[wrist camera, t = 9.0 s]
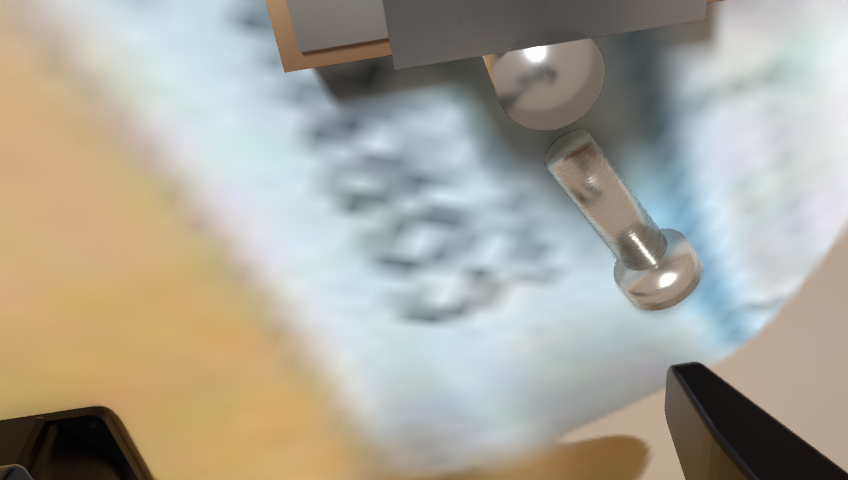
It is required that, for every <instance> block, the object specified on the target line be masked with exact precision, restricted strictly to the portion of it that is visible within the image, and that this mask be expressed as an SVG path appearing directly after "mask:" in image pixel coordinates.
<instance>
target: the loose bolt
mask: <svg viewBox="0 0 848 480" xmlns="http://www.w3.org/2000/svg"><path fill="white" fill-rule="evenodd" d="M544 165H545V166H546V168H547V169H548V170H549V171H550V173H551V174H552V175H553V176H554V178H555V179H556V180H557V181H558V183H559V184H560V185H561V186H562V188H563V189H564V190H565V191H566V193H567V194H568V195H569V196H570V198H571V199H572V200H573V202H574V203H575V204H576V205H577V207H578V208H579V209H580V210H581V212H582V213H583V214H584V215H585V217H586V218H587V219H588V220H589V222H590V223H591V224H592V225H593V227H594V228H595V229H596V230H597V232H598V233H599V234H600V235H601V237H602V238H603V239H604V240H605V242H606V243H607V244H608V245H609V247H610V248H611V249H612V250H613V252H614V253H615V254H616V256H617V257H618V258H617V260H616V263H615V266H614V278H615V281H616V282H617V284H618V285H619V286H620V288H621V289H622V290H623V291H624V293H625V294H626V295H627V296H628V297H629V299H630V300H631V301H632V302H633V303H634V304H635V305H636V306H638V307H639V308H642V309H645V310H661V309H665V308H668V307H671V306H673V305H676V304H677V303H679V302H681V301H682V300H684V299H685V298H686V297H687V296H689V295H690V294H691V293H692V292H693V290H694V289H695V288H696V286H697V285H698V283H699V281H700V279H701V276H702V272H703V265H702V261H701V259H700V257H699V256H698V254H697V253H696V251H695V250H694V248H693V247H692V246H691V244H690V243H689V241H688V240H687V239H686V237H685V236H684V235H683V234H682V233H680V232H679V231H676V230H673V229H659V228H658V226H657V225H656V224H655V222H654V221H653V219H652V218H651V217H650V215H649V214H648V213H647V211H646V210H645V208H644V207H643V206H642V204H641V203H640V202H639V200H638V199H637V197H636V196H635V195H634V193H633V192H632V191H631V189H630V188H629V187H628V185H627V184H626V182H625V181H624V180H623V178H622V177H621V176H620V174H619V173H618V171H617V170H616V169H615V167H614V166H613V165H612V163H611V162H610V160H609V159H608V158H607V156H606V155H605V154H604V152H603V151H602V150H601V148H600V147H599V145H598V144H597V143H596V141H595V140H594V139H593V137H592V136H591V134H590V133H589V132H588V131H586V130H582V129H580V130H574V131H571V132H569V133H567V134H565V135H563V136H562V137H560V138H559V139H558V140H556V141H555V142H554V143H553V144H552V145H551V146H550V148H549V149H548V150H547V152H546V154H545V156H544Z"/></svg>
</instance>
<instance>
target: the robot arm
mask: <svg viewBox="0 0 848 480" xmlns="http://www.w3.org/2000/svg"><path fill="white" fill-rule="evenodd" d="M665 414H666V419H667V424H668V427H669V430H670V433H671V436H672V439H673V442H674V445H675V448H676V452H677V454H678V458H679V460H680V464H681V467H682V470H683V473H684V476H685V479H686V480H848V473H847V472H846V471H844V470H843V469H842V468H840V467H839V466H838V465H836V464H835V463H834V462H832V461H831V460H830V459H828V458H827V457H826V456H824V455H823V454H822V453H820V452H819V451H818V450H816V449H815V448H814V447H812V446H811V445H810V444H808V443H807V442H806V441H805V440H803V439H802V438H801V437H799V436H798V435H796V434H795V433H794V432H793V431H791V430H790V429H789V428H787V427H786V426H785V425H783V424H782V423H781V422H779V421H778V420H776V419H775V418H774V417H772V416H771V415H770V414H769V413H767V412H766V411H765V410H763V409H762V408H761V407H759V406H758V405H757V404H755V403H754V402H753V401H751V400H750V399H749V398H747V397H746V396H745V395H743V394H742V393H741V392H739V391H738V390H737V389H735V388H734V387H733V386H731V385H730V384H729V383H727V382H726V381H725V380H723V379H722V378H721V377H719V376H718V375H717V374H715V373H714V372H713V371H711V370H710V369H709V368H708V367H706V366H705V365H703V364H701V363H699V362H690V363H683V364H677V365H672V366H670V367H669V369H668V371H667V379H666V395H665ZM94 420H95V421H94ZM0 480H146V479H145V477H144V476H143V474H142V472H141V470H140V469H139V467H138V465H137V463H136V462H135V460H134V458H133V456H132V455H131V453H130V451H129V449H128V448H127V446H126V444H125V442H124V441H123V439H122V437H121V435H120V434H119V432H118V430H117V428H116V427H115V425H114V423H113V421H112V420H111V418H110V416H109V414H108V413H107V412H106V411H105V410H103V409H101V408H98V407H86V408H80V409H73V410H67V411H60V412H54V413H47V414H41V415H34V416H28V417H21V418H15V419H8V420H1V421H0Z"/></svg>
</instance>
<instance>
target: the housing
mask: <svg viewBox="0 0 848 480" xmlns="http://www.w3.org/2000/svg"><path fill="white" fill-rule="evenodd" d="M382 2H383V7H384V13H385V19H386V25H387V30H388V36H389V42H390V48H391V53H392V59H393V65H394V70H399V69H405V68H411V67H417V66H424V65H430V64H436V63H442V62H448V61H454V60H460V59H467V58H473V57H479V56H482V57H483V60H484V62H485V65H486V68H487V70H488V73H489V76H490V78H491V81H492V84H493V86H494V89H495V91H496V94H497V97H498V99H499V102H500V104H501V106H502V108H503V110H504V111H505V112H506V114H507V115H508V116H509V117H510V118H511V119H512V120H514V121H515V122H516V123H518V124H520V125H522V126H524V127H526V128H530V129H533V130H545V131H546V130H555V129H559V128H562V127H565V126H568V125H570V124H572V123H574V122H575V121H577V120H579V119H580V118H581V117H583V116H584V115H585V114H586V113H587V112H588V111H589V110H590V109H591V108H592V107H593V105H594V104H595V102H596V101H597V99H598V98H599V96H600V93H601V91H602V88H603V85H604V80H605V63H604V59H603V56H602V53H601V51H600V49H599V48H598V46H597V45H596V43H595V42H594V41H593V40H592V38H596V37H602V36H608V35H614V34H620V33H626V32H633V31H639V30H645V29H651V28H657V27H663V26H670V25H676V24H682V23H688V22H694V21H700V20H706V8H707V0H382Z"/></svg>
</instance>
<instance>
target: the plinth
mask: <svg viewBox="0 0 848 480" xmlns="http://www.w3.org/2000/svg"><path fill="white" fill-rule="evenodd" d="M716 1H723V0H707V3H710V2H716ZM266 4H267V8H268V12H269V15H270V19H271V23H272V27H273V30H274V34H275V38H276V42H277V45H278V49H279V53H280V57H281V60H282V64H283V68H284V72H291V71H297V70H303V69H309V68H315V67H321V66H327V65H333V64H340V63H346V62H352V61H358V60H364V59H370V58H376V57H382V56H388V55H392V53H391V48H390V42H389V36H388V30H387V25H386V19H385V13H384V7H383V2H382V0H266Z"/></svg>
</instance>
